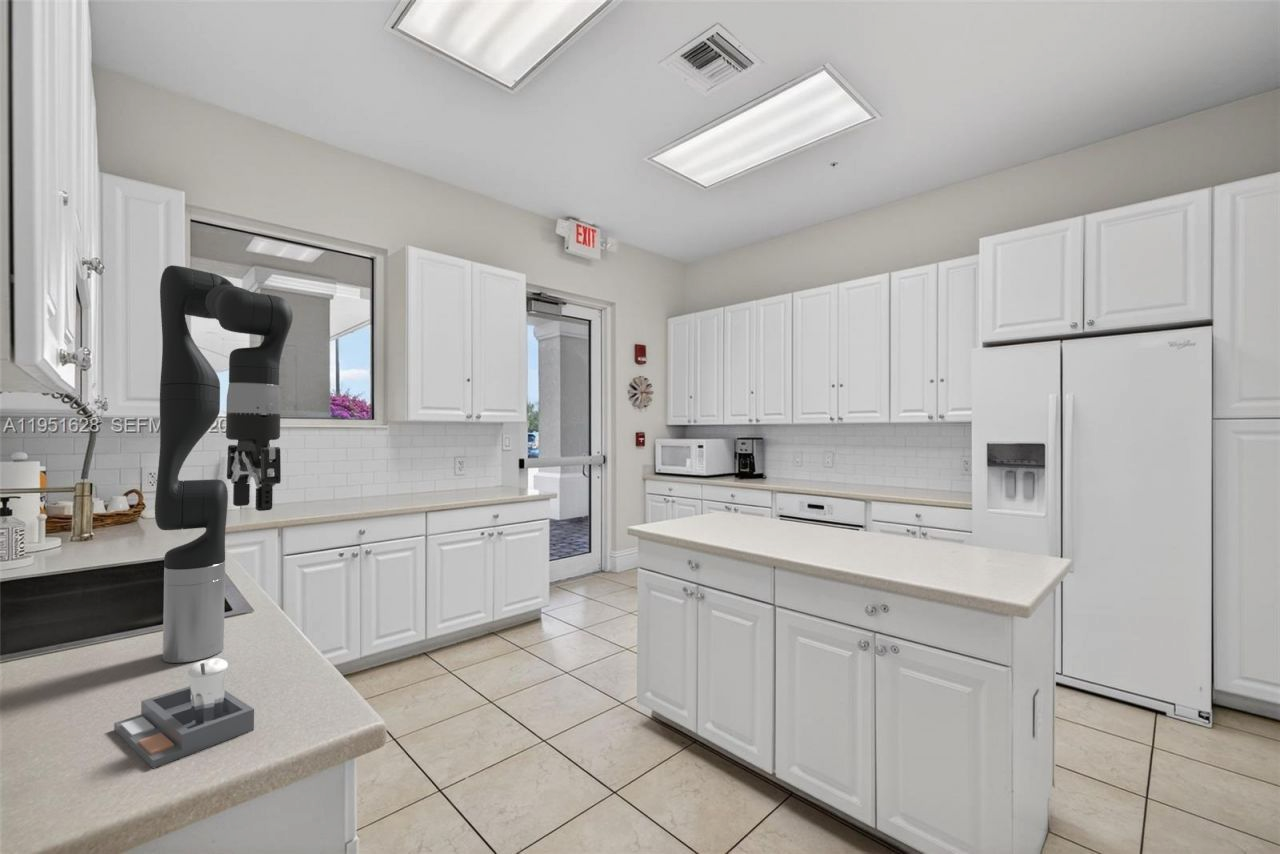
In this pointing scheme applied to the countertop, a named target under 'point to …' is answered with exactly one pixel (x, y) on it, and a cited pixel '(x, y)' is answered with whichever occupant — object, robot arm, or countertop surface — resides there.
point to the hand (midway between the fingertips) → (252, 507)
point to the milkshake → (207, 690)
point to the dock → (181, 727)
